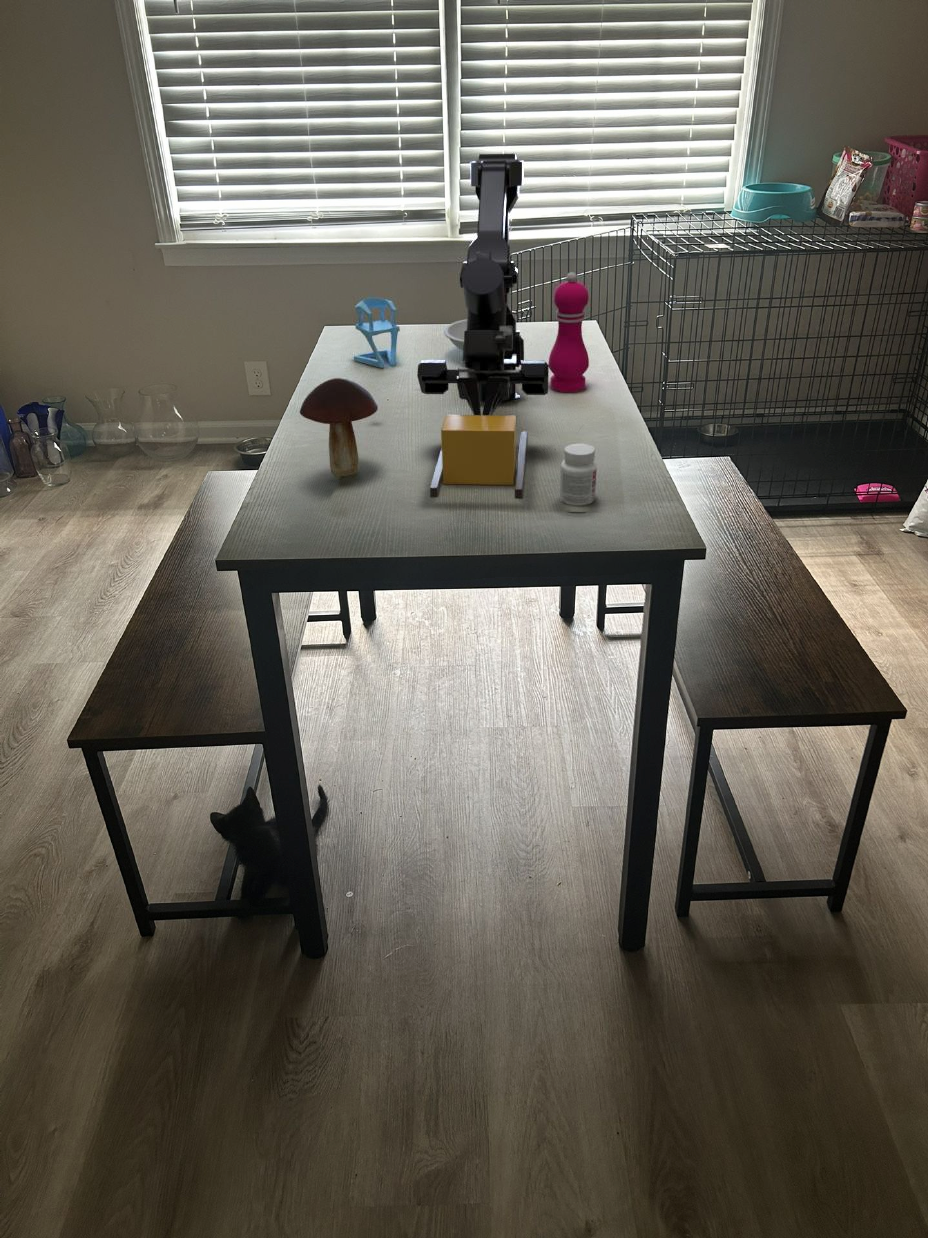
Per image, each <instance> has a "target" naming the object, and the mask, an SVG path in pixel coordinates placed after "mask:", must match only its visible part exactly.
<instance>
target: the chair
mask: <svg viewBox="0 0 928 1238" xmlns="http://www.w3.org/2000/svg"><path fill="white" fill-rule="evenodd" d="M386 307H388V308H389V309H390V312H391V313H392V314H391V317H390V321H388V320H387V319H386V317H385V308H386ZM354 308H355V310H356V313H357V315H358V323H355V324H354V326H355V330H357V331H359V332H361V334H362V335H363V336H364V337H365V339H366V341H367V343H368V345H369V346H370V348H371V351H372V352H371V351H370V352H366V353H360V354H355V355H353V361H355V362H358V363H361V364H366V365H370V366H373V367H377V368H380V369H385V361H384V359H383V357H382V356H387V361H388V363H389V364H390V366H393V367H395V366H397V342H398V334H399V332H401V328H400V325H397V324H396V314H397V308H396V307H395V305H394V302H393V301H391V300H389V299H386V298H381V297H376V296H375V297H374V296H369V297H366V298H365V299H363V300H361V301H360V302H358V303H357V304H356V305H355V307H354ZM375 308H376V309H380V311H379V312H380V313H379V314H380V315H379V317H380V319H379V320H375V321H374V320H373V313H372V311H371V310H370V309H375ZM362 312H363V313H364V315H366V317H367V318H368V322H364V316H363V314H362ZM386 333H390V349H382V350H378V348H377V346H376V345H375V342H374V339H373V336H374V337H375V336H379V335H381V334H386ZM374 358H375V359H374Z"/></svg>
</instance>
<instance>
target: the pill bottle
mask: <svg viewBox="0 0 928 1238" xmlns="http://www.w3.org/2000/svg"><path fill="white" fill-rule="evenodd" d="M595 450H596V449H595V447H594V446H592V445H590V444H586V443H571V444H569V445H566V446H565V447H564V449H563V451H564V452H563V460H562V462H561V465H560V477H559V478H560V479H559V500H560V501H561V502H562V503H564V504H566V505H570V506H576V507H577V506H578V507H579V506H581V507H582V506H587V505H590V504H592V503H593V502H594V501H595V500H596V484H597V469H598V468H597V467H598V466H597V463H596V462H595V457H596V456H595V455H596V454H595V452H596V451H595ZM568 513H569V514H578V515H579V514H587V513H588V512H587V511H568Z"/></svg>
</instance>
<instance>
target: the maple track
mask: <svg viewBox="0 0 928 1238" xmlns="http://www.w3.org/2000/svg"><path fill="white" fill-rule="evenodd" d="M528 434H529V432H528V431H521V432H520V440H519V447H518V458H517V464H516V474H515V483H514V485H515V486H514V499H523V493H524V483H525V471H526V461H527V449H528V438H529V437H528ZM439 452H440V453H439V456H438V460H437V462H436V466H435V469H434V472H433V476H432V480H431V483H430V486H429V496H430V498H438V496H439V493H440V489H441V486H442V483H443V468H442V447H441V449H440V451H439Z"/></svg>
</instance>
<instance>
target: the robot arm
mask: <svg viewBox="0 0 928 1238" xmlns="http://www.w3.org/2000/svg"><path fill="white" fill-rule="evenodd" d="M469 163H470V164H469V165H470V166H469V167H470V187H475V188H474V189H475V191H474V192H475V195H476V197H477V199H478V215H477V230H476V231H477V232H476V237H475V238H474V239H473V240H472V242H471V243H469V245H468V247H467V255H466V256H467V257H466V261H463V262H462V265H461V269H460V274H459V287H460V288H461V289H463V296H464V302H465V306H466V309H467V314H466V315H467V317H466V319H467V331H464V345H463V351H462V358H461V359H462V360H461V361H462V365H464V367H458V368H457V369H448V365H447V361H446V360H445V359H422V360H421V361H420V362H419V363H418V365H417V372H416V373H417V375H416V376H417V377H416V378H417V382H418V384H419V388H420V392H421V393H422V394H424V395H444V394H445V393H446V392H447V391H449V387H450V384H456V386H457V392H458V397H459V399H460V400H466V402H467V404H468V406H469V408H470V410H471V412H472V415H494V413H495V411H496V410H497V408H499V405H500V404H505V403H509V402H513V401H519V400H521V398H522V397H521V395H519V394H517V391H516V390H517V389H516V388H517V385H521V392H523V393H524V394H525V395H526V396H546V395H548V394H549V373H550V372H549V371H550V369H549V365H548V362H547V361H546V360H525V339H524V338H522V334H521V331H520V330H517V331H516V329H517V320H516V319H515V317H514V315H513V313H512V311H511V309H510V307H509V293H510V289H512V288H514V287H515V285H516V284H518V280H519V269H518V268H517V266H516V264H515V261H511V247H510V214H511V212H512V210H513V208H514V207H515V205H516V204H517V202H518V199H519V198H520V187H522V186H523V185H524V160H519V159H518V158H517V153H479V155H478V159H476V160H475V161H470V162H469ZM517 368H520V369H517ZM481 402H482V403H483V407H482V411H481Z"/></svg>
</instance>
